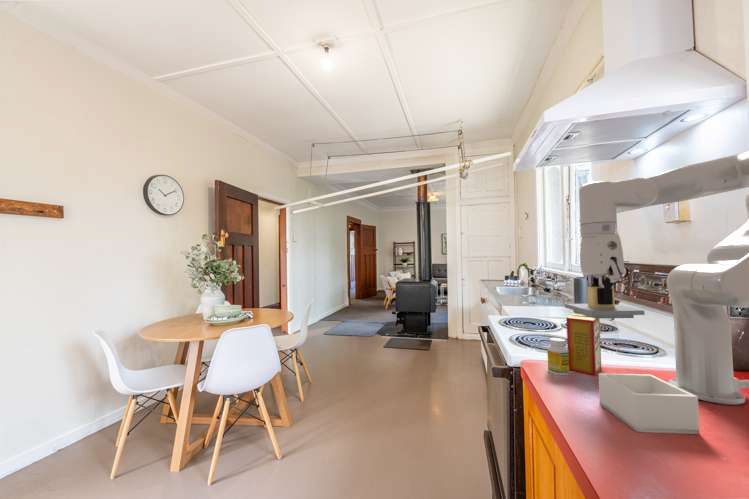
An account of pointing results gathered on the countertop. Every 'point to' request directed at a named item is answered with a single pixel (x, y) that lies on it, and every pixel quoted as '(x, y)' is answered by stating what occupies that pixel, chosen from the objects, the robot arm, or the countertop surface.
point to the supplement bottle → (558, 357)
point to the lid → (603, 307)
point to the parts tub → (649, 403)
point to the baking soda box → (584, 344)
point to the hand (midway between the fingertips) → (601, 302)
